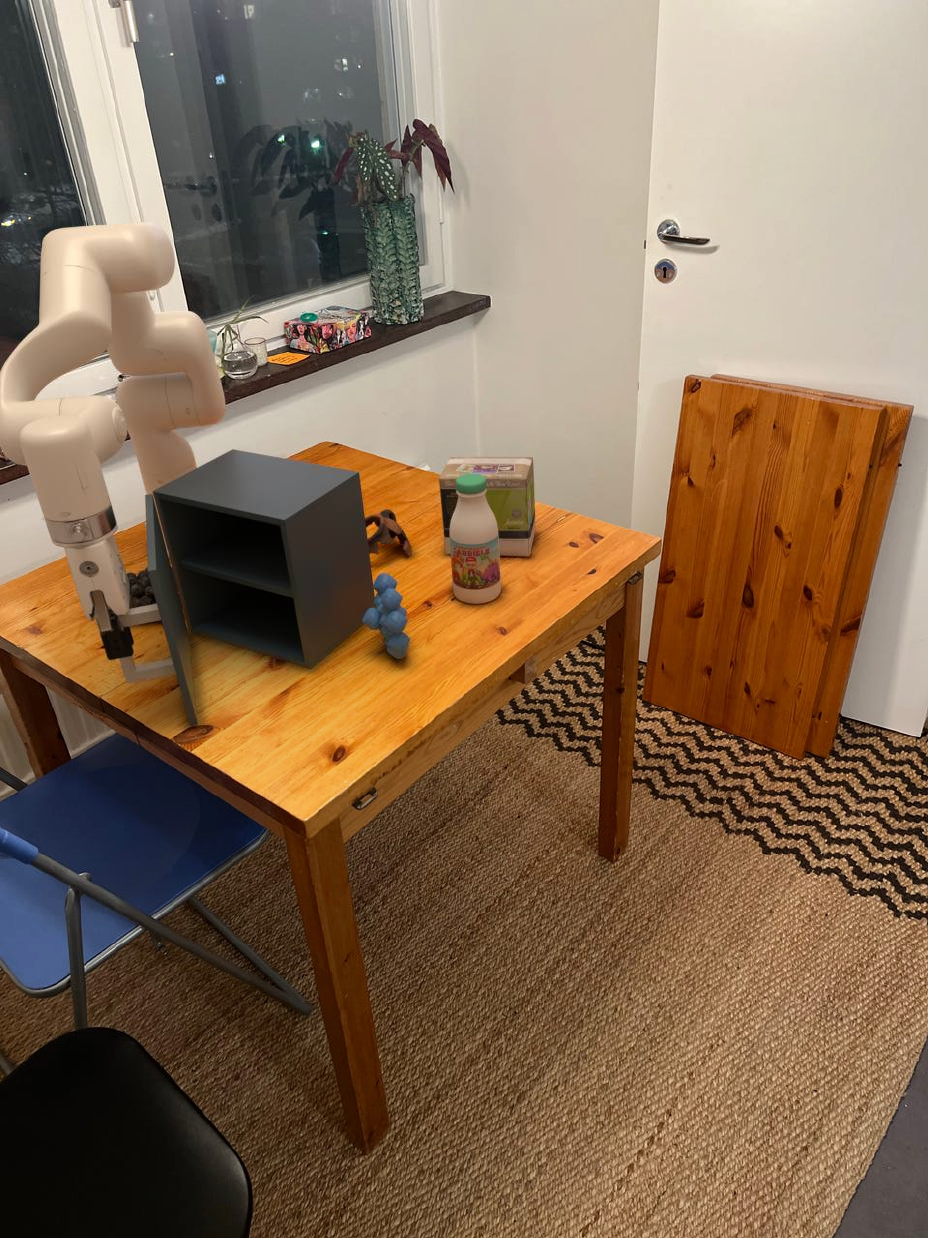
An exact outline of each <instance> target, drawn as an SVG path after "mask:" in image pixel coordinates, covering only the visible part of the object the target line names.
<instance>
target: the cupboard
mask: <svg viewBox="0 0 928 1238" xmlns="http://www.w3.org/2000/svg"><path fill="white" fill-rule="evenodd" d="M153 495H154V499H155V503H156V506H157V510H158V514H159V518H160V522H161V526H162V530H163V534H164V537H165V541H166V545H167V549H168V553H169V557H170V558H169V560H170V564H171V567H172V568H173V572H174V576H175V580H176V584H177V588H178V593H179V595H180V599H181V603H182V607H183V608H182V610H183V614H184V618H185V622H186V626H187V630H188V633H189V634H193V635H196V636H199V637H203V638H207V639H210V640H213V641H216V642H219V643H223V644H226V645H229V646H233V647H236V648H238V649H242V650H245V651H248V652H252V653H255V654H258V655H262V656H266V657H268V658H271V659H276V660H278V661H282V662H285V663H288V664H292V665H294V666H298V667H302V668H305V669H308V670H313V669H314V668H315V667H316V666H317V665H318V664H320V663H321V662H322V661H323V660H324V659H326V658H327V657H328V656H329V655H330V654H331V653H332V652H334V651H335V650H336V649H337V648H339V646H341V645H342V644H343V643H344V642H345V641H346V640H348V638H350V637H351V636H352V635H353V634H354V633H356V632H357V631H358V630H359V629H360V628H361V627H362V626H364V625H365V624H364V623H363V622H362V620H363V617H364V615H365V613H366V611H367V610H368V609H369V608H375V607H376V605H375V604H374V598H375V596H376V594H375V589H374V588H373V584H374V578H373V571H372V570H373V569H372V562H371V556H370V555H371V553H370V554H369V546H368V538H369V537H368V531H367V528H366V522H365V518H366V515H365V507H364V500H363V492H362V483H361V475H360V471H356V470H352V469H351V470H350V469H345V468H339V467H335V466H329V465H322V464H317V463H312V462H306V461H300V460H295V459H291V458H283V457H278V456H273V455H267V454H261V453H256V452H250V451H245V450H240V449H234V448H232V449H231V450H229V451H227V452H225V453H223V454H221V455H219V456H217V457H215V458H212V460H210V461H207V462H205V463H204V464H202V465H200V466H197V468H196V469H194V470H192V471H190V472H188V473H186V474H185V475H183V476H181V477H179V478H177V479H175V480H173V481H171V482H169V483H167V484H165V485H163V486H162V487H160V488H158V489H156V490H154V491H153Z"/></svg>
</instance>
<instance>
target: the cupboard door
mask: <svg viewBox="0 0 928 1238" xmlns="http://www.w3.org/2000/svg"><path fill="white" fill-rule="evenodd" d="M144 502H145V506H144V507H145V522H146V528H145V529H146V531H145V533H146V534H145V535H146V557H147V558H146V559H147V560H146V561H147V567H148V574H149V577H150V581H151V585H152V588H153V592H154V595H155V599H156V603H157V604H153V605H147V606H142V607H137V608H132V609H129V611H128V613H127V614H126V615H123V614H122V615H121V619H122V622H123V625H124V627H128V626H129V627H132V626H137V625H143V624H148V623H153V622H158V621H161V624H162V628H163V631H164V635H165V638H166V642H167V646H168V650H169V654H170V657H169V658H165V659H160V660H156V661H151V662H150V661H149V662H145V663H141V664H136V663H135V659H134V657H133V655H132V656H129V657H124V658H119V659H118V660H119V662H120V665H121V670H122V672H123V675H124V678H125V682H126V683H127V684H134V683H138V682H143V681H148V680H153V679H157V678H161V677H165V676H166V677H167V676H171V675H176V679H177V682H178V686H179V689H180V693H181V696H182V700H183V703H184V708H185V711H186V715H187V719H188V722H189V725H190V727H191V726H196V725H198V724H199V720H198V710H197V702H196V701H197V700H196V693H195V692H196V691H195V682H194V672H193V663H192V654H191V645H190V644H191V643H190V633H189V630H188V626H187V623H186V619H185V615H184V611H183V608H182V607H181V603H180V599H179V595H178V593H179V592H178V591H177V587H176V583H175V580H174V576H173V572H172V568H171V567H172V564H171V561H170V558H169V556H168V553H167V549H166V545H165V541H164V537H163V533H162V529H161V526H160V522H159V518H158V514H157V510H156V506H155V502H154V499H153V495H152V494H148V495H147V494H145V495H144ZM110 619H115V616H114V617H110ZM115 620H116V619H115Z"/></svg>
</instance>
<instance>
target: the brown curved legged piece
mask: <svg viewBox="0 0 928 1238" xmlns="http://www.w3.org/2000/svg"><path fill="white" fill-rule="evenodd" d="M365 522H366V529H367V528H368V527H369V526H371V525H372V524H373V523H374V525H375V526H376V527H377V530H376V531H375V532H374V533H373V534H372V535H371V536H370V537H367V538H368V546H369V554H370V555H371V554H375V555H380V552H379V544H382V545H383V544H392V543H394V541H395V540H394V539H395V538H396V537H397V540H398V543H399V545H401V546H402V551H403V552H405V554H406V557H407V558H410V557H411V554H412V551H413V549H412V546H411V544H410V541H409V538H408V536H407V534H406V532H405V531H404V529H403V527H402V526H401V525H400V524H399V523H398V522H397V517H396V514H395V513H394V512H393V510H391V509H388V508H385V509H384V510H381V511H380V512H379V513H374V514H370V515H368V516H365Z"/></svg>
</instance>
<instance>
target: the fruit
mask: <svg viewBox="0 0 928 1238" xmlns="http://www.w3.org/2000/svg"><path fill="white" fill-rule="evenodd" d="M171 568H172V566H171ZM172 572H173V568H172ZM126 573H127V576H128V580H129V587H130V597H129V609H132V608H137V607H142V606H147V605H153V604H157V603H156V599H155V595H154V592H153V588H152V585H151V581H150V577H149V574H148V566H146V568H144V570H141V571H139V572H138V574H136V573H135V572H126ZM173 576H174V572H173ZM174 580H175V576H174ZM175 583H176V580H175ZM176 587H177V584H176ZM177 591H178V588H177ZM178 595H179V592H178ZM179 599H180V595H179ZM180 603H181V599H180ZM181 607H182V603H181ZM182 609H183V607H182Z"/></svg>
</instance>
